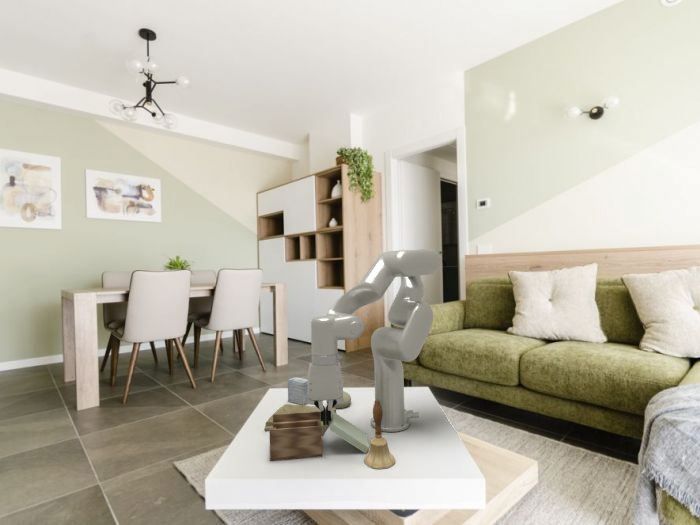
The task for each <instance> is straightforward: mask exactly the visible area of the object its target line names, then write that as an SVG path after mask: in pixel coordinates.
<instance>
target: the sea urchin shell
mask: <svg viewBox="0 0 700 525" xmlns="http://www.w3.org/2000/svg"><path fill="white" fill-rule="evenodd" d="M343 398H344V401H343V402H341V403H337V404H336V405H335V406H334V407H333V408H336V409H344V408H346V407H348V406H349V405H350V404H351V402H352V397H351V395H350V394H349V393H348V392H347V391H344V390H343ZM325 401H326V404H328V400H325Z"/></svg>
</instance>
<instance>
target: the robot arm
mask: <svg viewBox="0 0 700 525" xmlns="http://www.w3.org/2000/svg"><path fill="white" fill-rule="evenodd" d="M441 266H442V257H441V255H440V254H439V252H438V251H436V250H435V249H434V248H433V249H432V248H426V249H410V250H409V249H403V250H402V249H401V250H388V251H387V250H386V251H384V252H382V253H381V254H379V255H378V256H377V258H376V259H375V261H374V262H373V264H371V266H370V268H369V269H368V270H367V272H366V273H365V274H364V276H363V277H362V279H361V280H360V281H359V282H358V283H357V284H356V285H355V286H353V287H351V288H350V289H349V290H347V291H346V292H345V293H344V294H343V295H341V296H340V297H339V298H338V299H337V300H336V301H335V302H334V304H333V305H332V306H331V307H330V309H329V311H328V312H327V314H326V315H320V316H315V317H313V318H312V319H311V321H310V322H311V323H310V329H311V330H310V331H311V332H310V333H311V334H310V335H311V337H310V339H311V342H310V343H311V362H310V363H309V365H308V369H307V370H308V371H307V379H308V387H307V390H308V398H307V404H306V405H310V406H316V407H317V408H318V409H319V410H320V417H321V421H323V425H329V421H331V410H332V408H333V407H334V406H335V405H336V404H337V403H341V402H343V401H344V398H343V391H344V386H343V374H342V373H343V372H342V366H341V363H340V362H339V361H340V360H343V354H340V353H338V341H353V340H356V339H359V338H360V337H361V336H362V334H363V333H364V331H365V323H364V321H363V320H362V318H361V317H359V316H357V315H355V314H354V313H355V312H357V310H359V309H360V308H363V307H365V306H368V305H370V304H373V303H375V302H377V301H379V300H380V299H382V298H383V296H384V295H385V293H387V290H388V288H389V287H390V286H391V284H392V283H393V281H394V280H395V278H399V277H400V287H399V289H398V292H396V295H395V298H394V300H393V301H392V304H391V305H390V308H389V310H388V313H387V317H388V318H387V319H388V322H389V323H390V324H391V325H393V326H394V327H391V326H382V327H378V328H376V329H375V330H374V332H372V335H371V337H370V338H371V339H370V349H371V351H372V357H373V365H374V401H375V400H380V404H381V407H382V411H383V416H382V421H381V432H387V433H396V432H401V431H404V430H407V429H408V428H409V427H410V420H411V419H419V418H420V413H419V411H413V410H412V409H409V410H406V409H405V382H404V365H403V362H405V363H406V362H407V363H410V362H412V361H413V362H414V361H415V360H416V359H417V358H418V356H419V355H420V353H421V351H422V348H423V347H424V345H425V342H426V340H427V337H428V335H429V333H430V331H431V329H432V326H433V323H434V311H433V308H432V307H431V305H430V304H429V303H427V302H426V301H424V300H422V299H423V297H424V294H425V286H424V283H423V280H422V278H421V276H428V275H434V274H436V273H437V272H438V271H439V270H440V268H441ZM397 327H398V328H397ZM401 328H402V329H401ZM326 400H328V404H327V403H326V404H327V405H326V406H325V405H324V402H323V401H326ZM325 407H326V411H325ZM370 425H371V426H372V427H373V428H374V429H375V421H374V418H373V417H372V418H371V419H370Z"/></svg>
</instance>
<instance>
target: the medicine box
mask: <svg viewBox="0 0 700 525" xmlns="http://www.w3.org/2000/svg"><path fill="white" fill-rule="evenodd" d="M307 387H308V378H307V379H306V378H302V377H296V376H294V377H292V378H289V379H287V401H288V402H289V403H293V404H296V405H305V406H306V405H308V404H307V398H308V390H307Z"/></svg>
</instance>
